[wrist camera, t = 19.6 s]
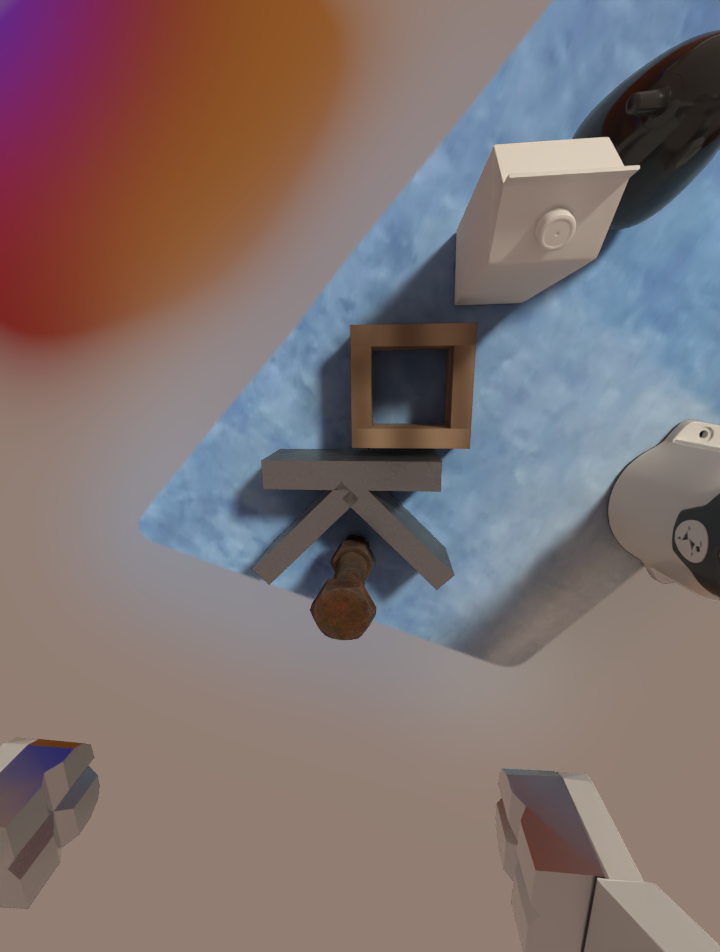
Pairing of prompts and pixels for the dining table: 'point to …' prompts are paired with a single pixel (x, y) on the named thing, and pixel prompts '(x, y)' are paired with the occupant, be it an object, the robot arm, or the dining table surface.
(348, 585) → the bolt
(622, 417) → the dining table surface
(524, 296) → the milk carton
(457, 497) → the dining table surface
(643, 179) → the black egg shape
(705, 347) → the dining table surface
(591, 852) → the robot arm
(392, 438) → the bore block
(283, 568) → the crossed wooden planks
